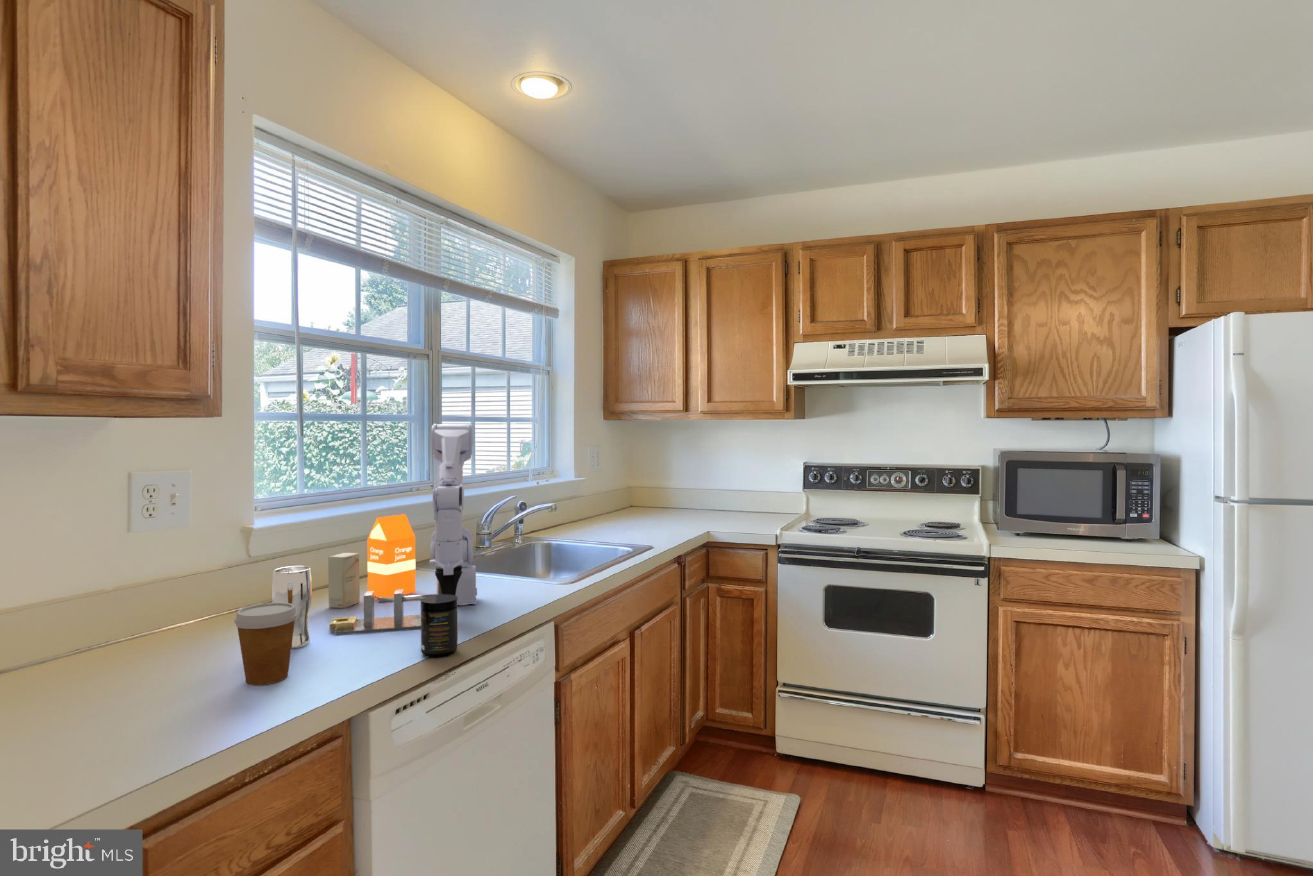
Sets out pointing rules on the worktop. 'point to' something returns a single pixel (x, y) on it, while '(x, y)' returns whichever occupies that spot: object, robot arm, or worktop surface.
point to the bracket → (383, 618)
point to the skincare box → (343, 580)
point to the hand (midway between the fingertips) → (449, 601)
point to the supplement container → (439, 625)
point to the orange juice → (391, 556)
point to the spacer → (343, 623)
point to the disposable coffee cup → (266, 641)
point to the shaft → (407, 597)
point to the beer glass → (295, 598)
